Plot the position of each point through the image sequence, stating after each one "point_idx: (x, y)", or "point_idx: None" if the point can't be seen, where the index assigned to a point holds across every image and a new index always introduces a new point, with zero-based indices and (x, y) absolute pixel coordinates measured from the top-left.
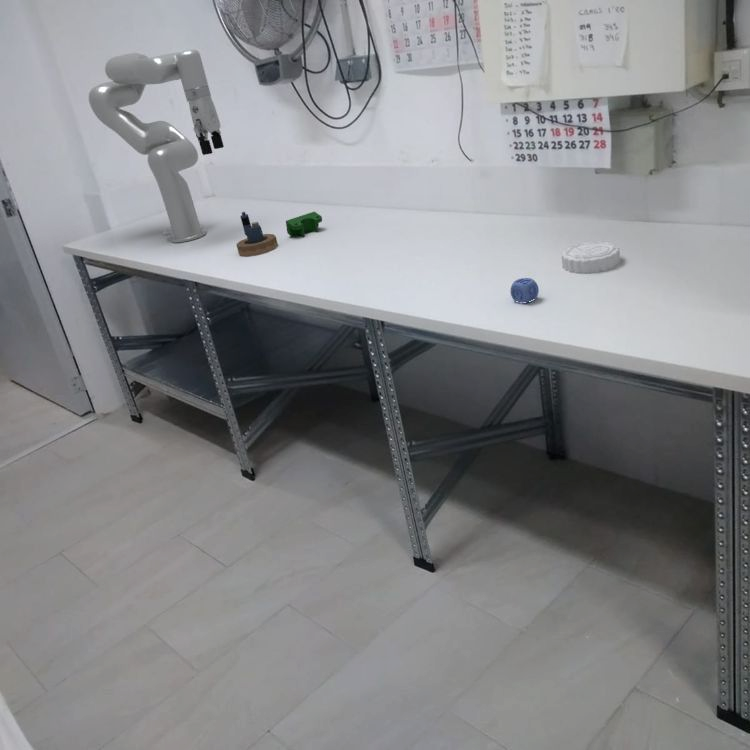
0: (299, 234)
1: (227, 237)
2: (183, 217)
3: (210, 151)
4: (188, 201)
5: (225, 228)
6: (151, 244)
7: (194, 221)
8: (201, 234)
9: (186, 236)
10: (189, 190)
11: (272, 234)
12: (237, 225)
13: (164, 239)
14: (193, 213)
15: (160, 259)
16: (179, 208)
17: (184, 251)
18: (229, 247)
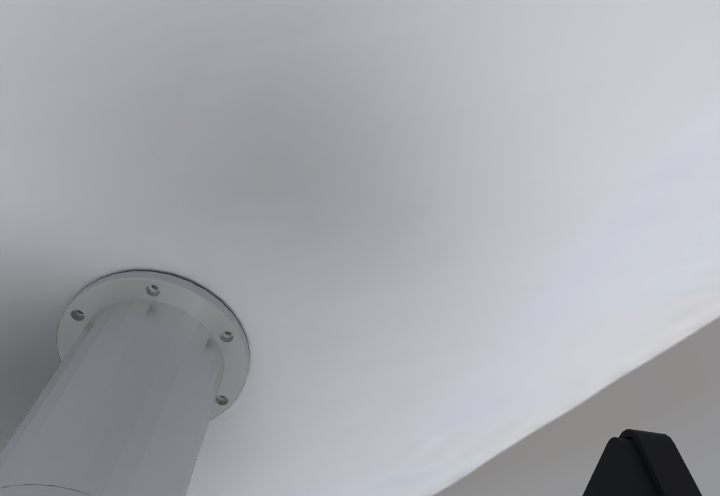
0: None
1: (302, 118)
2: (190, 415)
3: (674, 475)
4: (113, 441)
5: (61, 178)
6: None
7: (156, 350)
8: (188, 287)
9: (220, 355)
10: (16, 483)
11: None
12: (22, 108)
13: None
14: (130, 376)
15: (507, 393)
16: (178, 465)
17: (443, 311)
18: (570, 53)
